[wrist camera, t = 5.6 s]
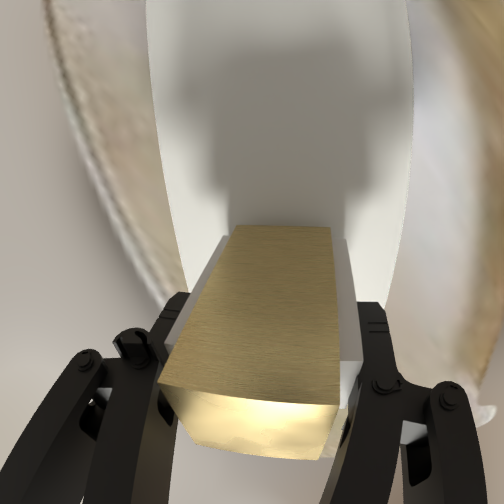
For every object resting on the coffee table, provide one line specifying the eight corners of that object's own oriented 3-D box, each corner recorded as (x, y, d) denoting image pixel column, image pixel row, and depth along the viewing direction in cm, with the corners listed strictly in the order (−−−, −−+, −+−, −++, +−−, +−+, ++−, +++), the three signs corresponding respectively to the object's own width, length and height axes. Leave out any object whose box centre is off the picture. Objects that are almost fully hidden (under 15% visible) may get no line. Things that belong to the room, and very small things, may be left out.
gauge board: (161, -93, 5) (149, -103, 4) (361, -112, 3) (364, -125, 2) (207, 320, 19) (200, 336, 18) (370, 329, 17) (372, 347, 16)
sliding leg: (238, 221, 13) (156, 382, 6) (329, 223, 12) (339, 405, 5) (245, 291, 15) (195, 444, 8) (324, 295, 14) (317, 460, 7)
